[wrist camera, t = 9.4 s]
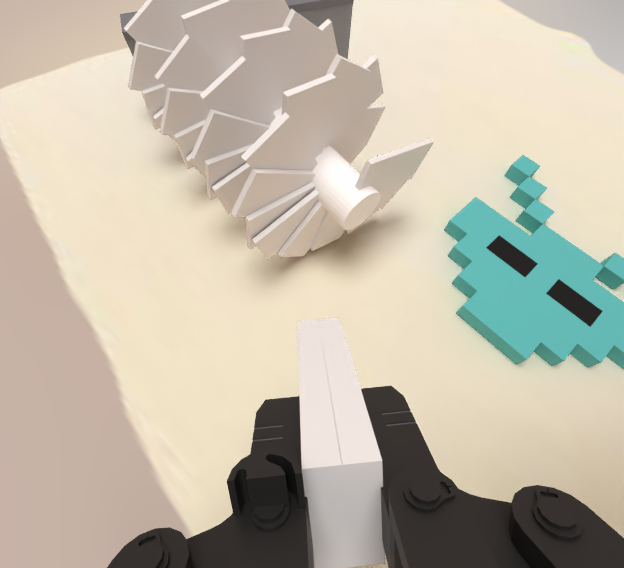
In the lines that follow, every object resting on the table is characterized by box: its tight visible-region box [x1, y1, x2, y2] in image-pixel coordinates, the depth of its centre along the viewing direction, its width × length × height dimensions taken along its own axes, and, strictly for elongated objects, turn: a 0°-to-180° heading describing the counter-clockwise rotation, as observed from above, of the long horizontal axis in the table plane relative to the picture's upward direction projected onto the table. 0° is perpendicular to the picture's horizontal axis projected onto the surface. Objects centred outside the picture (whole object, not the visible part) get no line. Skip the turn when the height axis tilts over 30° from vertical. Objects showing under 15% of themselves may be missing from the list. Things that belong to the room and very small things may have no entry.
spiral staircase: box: [124, 0, 434, 260], centre depth 34 cm, size 18×18×25 cm
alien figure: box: [444, 155, 624, 368], centre depth 36 cm, size 20×2×20 cm
